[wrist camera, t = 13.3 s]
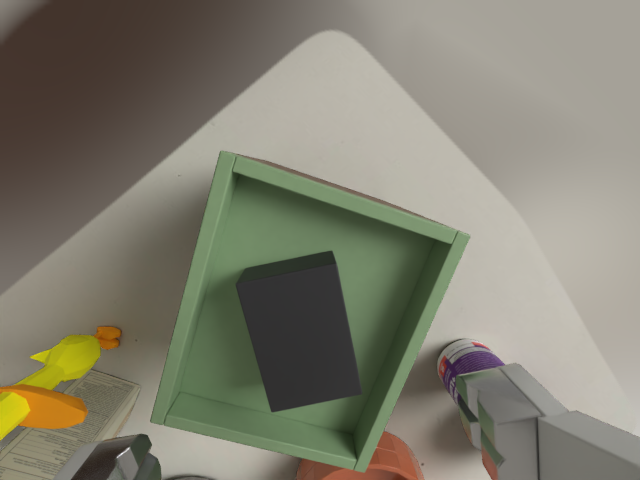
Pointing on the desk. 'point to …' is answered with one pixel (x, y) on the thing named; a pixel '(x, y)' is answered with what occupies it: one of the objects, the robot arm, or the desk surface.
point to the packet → (300, 330)
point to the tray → (359, 295)
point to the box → (70, 429)
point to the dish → (192, 478)
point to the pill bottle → (464, 362)
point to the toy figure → (54, 384)
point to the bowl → (369, 465)
